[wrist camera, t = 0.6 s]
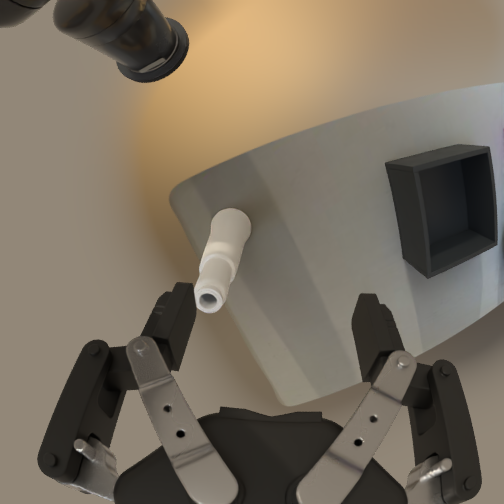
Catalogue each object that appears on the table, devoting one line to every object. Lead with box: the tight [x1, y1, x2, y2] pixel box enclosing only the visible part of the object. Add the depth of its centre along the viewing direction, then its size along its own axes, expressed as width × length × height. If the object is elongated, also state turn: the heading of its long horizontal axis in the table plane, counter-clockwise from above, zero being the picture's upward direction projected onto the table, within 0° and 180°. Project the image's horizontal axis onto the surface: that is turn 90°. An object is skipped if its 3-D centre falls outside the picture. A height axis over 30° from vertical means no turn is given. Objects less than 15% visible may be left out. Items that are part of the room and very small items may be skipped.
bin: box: [385, 144, 498, 279], centre depth 36 cm, size 17×17×9 cm
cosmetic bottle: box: [194, 208, 251, 313], centre depth 32 cm, size 6×6×22 cm
